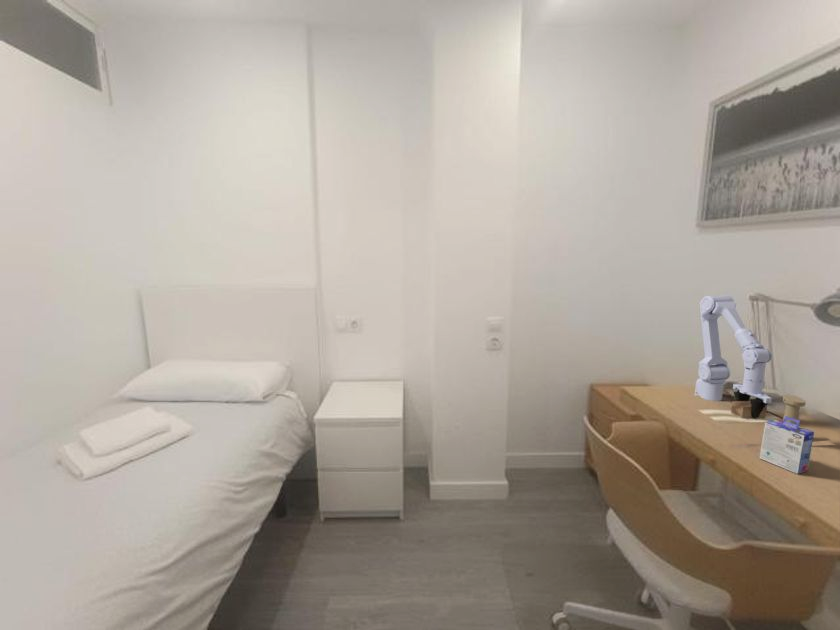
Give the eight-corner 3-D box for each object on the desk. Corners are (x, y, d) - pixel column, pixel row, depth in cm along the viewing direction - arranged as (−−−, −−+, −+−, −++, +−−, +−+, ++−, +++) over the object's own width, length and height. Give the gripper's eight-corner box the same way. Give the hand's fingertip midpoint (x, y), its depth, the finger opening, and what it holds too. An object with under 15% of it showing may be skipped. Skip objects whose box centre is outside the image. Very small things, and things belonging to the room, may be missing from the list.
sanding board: (688, 411, 157) (688, 407, 156) (757, 408, 158) (757, 405, 157) (719, 430, 141) (720, 426, 141) (796, 427, 142) (797, 423, 142)
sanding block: (730, 412, 151) (732, 401, 151) (753, 411, 152) (755, 400, 151) (741, 418, 147) (743, 406, 146) (765, 417, 147) (767, 405, 146)
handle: (790, 437, 135) (796, 395, 132) (802, 446, 129) (809, 403, 126) (773, 435, 136) (779, 394, 134) (784, 445, 130) (791, 401, 128)
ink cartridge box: (809, 470, 116) (817, 424, 113) (798, 475, 114) (806, 428, 111) (768, 454, 125) (775, 411, 122) (758, 458, 123) (764, 414, 120)
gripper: (727, 373, 154) (723, 406, 156) (759, 386, 139) (754, 423, 142) (744, 372, 154) (740, 405, 156) (779, 386, 140) (774, 422, 142)
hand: (748, 413), depth 149 cm, fingers closed on sanding block, 5 cm apart
